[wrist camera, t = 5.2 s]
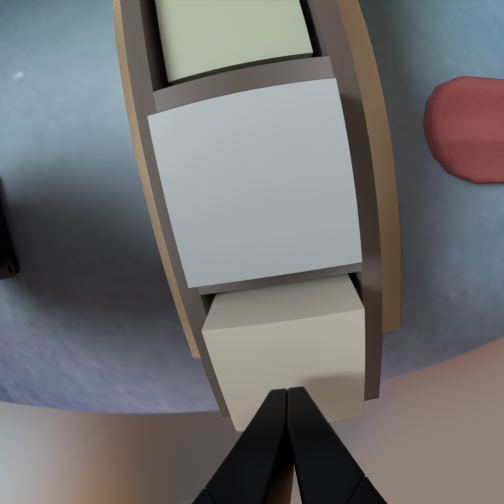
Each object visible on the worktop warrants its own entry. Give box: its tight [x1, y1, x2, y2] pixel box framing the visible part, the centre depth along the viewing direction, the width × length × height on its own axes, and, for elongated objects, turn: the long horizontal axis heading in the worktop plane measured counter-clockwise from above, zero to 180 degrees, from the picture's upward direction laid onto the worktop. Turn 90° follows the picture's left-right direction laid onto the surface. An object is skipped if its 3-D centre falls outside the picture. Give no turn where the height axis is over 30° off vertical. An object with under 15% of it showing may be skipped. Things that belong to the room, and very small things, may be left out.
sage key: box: [155, 0, 313, 85], centre depth 8 cm, size 4×4×3 cm
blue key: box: [147, 78, 362, 288], centre depth 8 cm, size 4×4×3 cm
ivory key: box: [202, 273, 365, 431], centre depth 9 cm, size 4×4×3 cm
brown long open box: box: [112, 0, 402, 417], centre depth 10 cm, size 10×21×6 cm, turn 11°
